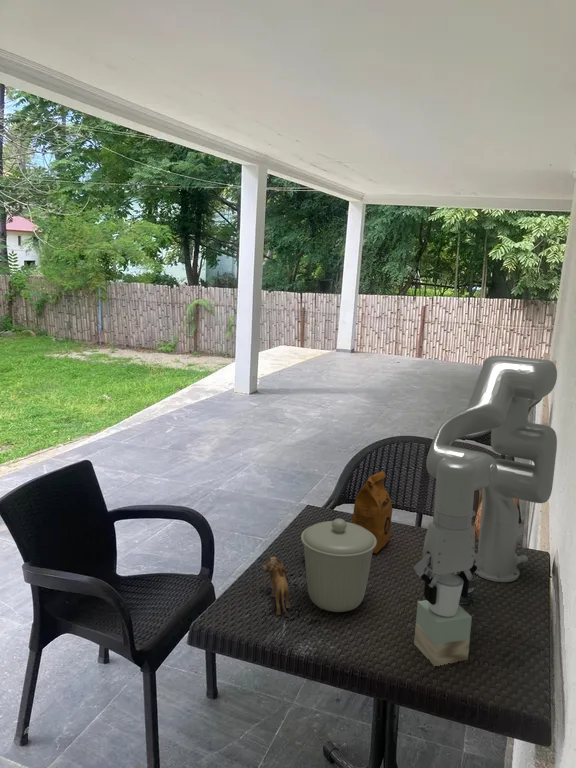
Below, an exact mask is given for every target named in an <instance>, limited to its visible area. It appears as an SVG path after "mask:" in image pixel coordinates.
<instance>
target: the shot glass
mask: <svg viewBox="0 0 576 768" xmlns="http://www.w3.org/2000/svg"><path fill="white" fill-rule="evenodd" d="M432 576H433V573H432V574H431V576H430V579H431V578H432ZM463 583H464V581H463V579H462V578H461V577H459V576H458V575H457V574H455V573H449V574H444V575H440V576H439V578H438V580H437V582H436V584H435V586H436V587H437V594H436V604H435V605H432V604H431V603H430V602H429V608H430V610H431V611H432V612H434V613H435V614H437V615H441V616H446V617H451V616H454V615H456V613H457V609H458V604H459V603H460V600H461V597H462V596H461V592H462V587H463ZM459 605H460V604H459Z"/></svg>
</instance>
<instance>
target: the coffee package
mask: <svg viewBox="0 0 576 768" xmlns="http://www.w3.org/2000/svg"><path fill="white" fill-rule="evenodd" d="M385 478H386V473H385V471H383V470H382V471H379V472H377V473H375V474H373V475H370V476H369V477H368V479H367V480H366V482H365V484H364V485H363V486H362V487H361V489H360V490H359V491H358V493H357V494H356V497H355V501H354V506H353V511H352V513H353V515H352V523H353V524H356V525H359V526H361V527H363V528H365V529H366V530H368V531H370V532H371V533H372V534H373V535H374V536H375V538H376V540H377V544H376V546H375V548H374V549H373V553H372V554H378V552H379V551H380V550H382V548H384V547H385V546H386V545H387V543H388V542H389V541H390V540H391V536H392V535H391V532H392V529H391V528H392V516H393V506H392V500H391V497H390V494H389V493H388V491H387V489H386V488H385V485H384V479H385Z"/></svg>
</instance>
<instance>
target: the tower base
mask: <svg viewBox="0 0 576 768" xmlns="http://www.w3.org/2000/svg"><path fill="white" fill-rule="evenodd" d="M414 628H415V629H414V639H413V644H414V646H416V648H418V650H419V651H420V652H421V653H422V654H423V655H424V657H425V658H426V659H427V660H428V659H429V660H430V661H429V660H428V661H429V662H430V663H431V664H432V665H433V667H435V666H437V667H440V665H441V666H445V665H449V664H448V663H450V664H454V663H459V662H461V661H467V660H469V651H470V641H471V638H470V639H466V640H461V641H455V642H449V643H443V644H438V645H435V643H434V642H433V641H432V640H431V639H430V638H429V637H428V636H427V634H426V633H425V632H424V631H423V630H422V629H421V628H420V626H419V625H418V624H417V623H416V622H415V626H414ZM458 661H459V662H458ZM444 664H445V665H444Z"/></svg>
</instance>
